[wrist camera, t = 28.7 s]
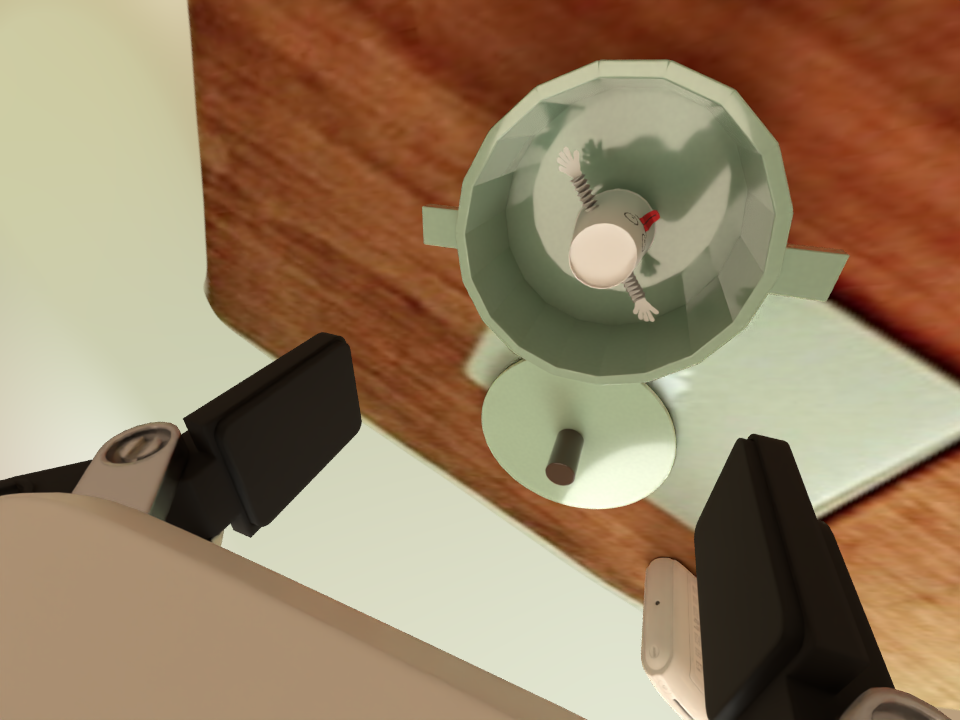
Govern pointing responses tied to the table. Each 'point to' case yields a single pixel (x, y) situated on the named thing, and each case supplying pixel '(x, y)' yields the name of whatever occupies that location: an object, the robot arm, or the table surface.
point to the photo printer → (673, 637)
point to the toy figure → (610, 236)
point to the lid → (578, 437)
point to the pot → (668, 189)
